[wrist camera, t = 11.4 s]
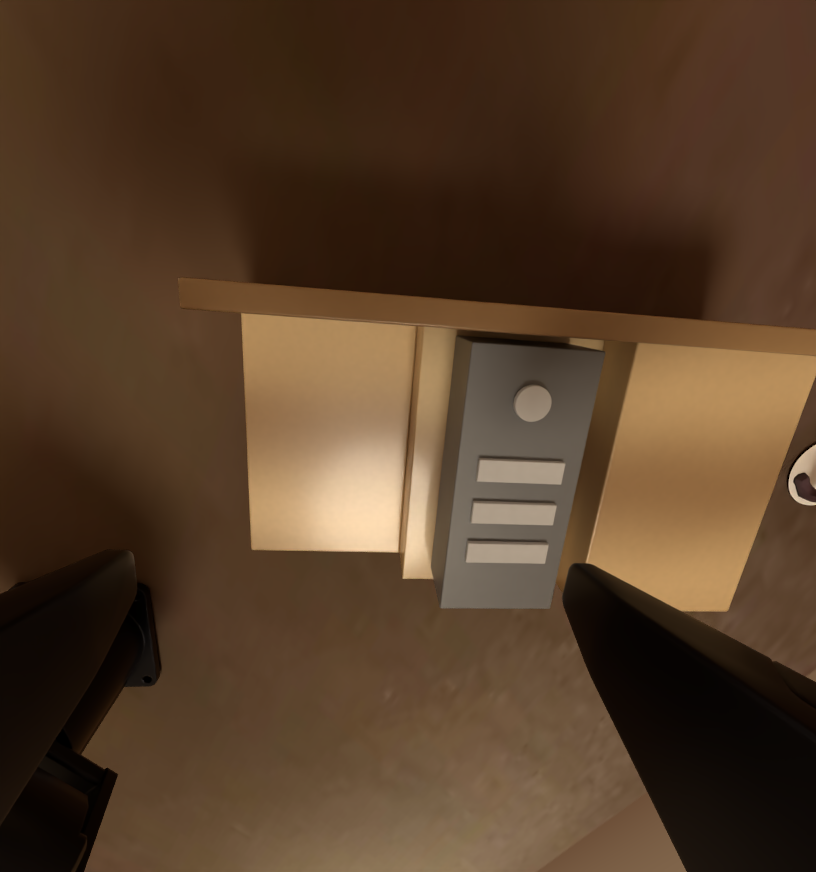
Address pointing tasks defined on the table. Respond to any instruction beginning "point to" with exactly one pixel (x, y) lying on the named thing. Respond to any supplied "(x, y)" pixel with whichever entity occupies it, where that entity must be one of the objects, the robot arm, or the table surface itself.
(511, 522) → the remote
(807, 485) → the action figure
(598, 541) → the stepped shelf
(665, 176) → the table surface
